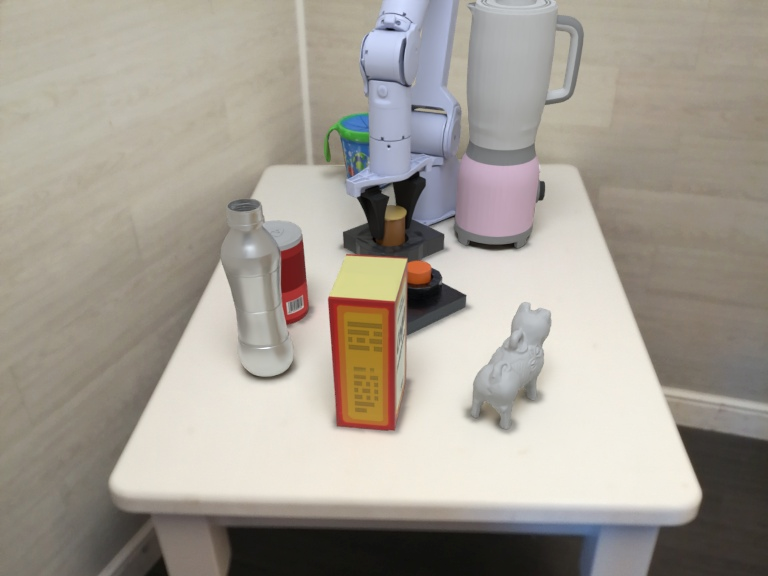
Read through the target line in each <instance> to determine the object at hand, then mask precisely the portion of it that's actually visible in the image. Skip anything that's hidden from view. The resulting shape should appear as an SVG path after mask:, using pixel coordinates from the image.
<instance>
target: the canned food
mask: <svg viewBox="0 0 768 576" xmlns="http://www.w3.org/2000/svg"><path fill="white" fill-rule="evenodd" d="M263 227H264V228H265V229H266V230H267V231H268V232H269V233H270V234H271V235H272V237H273V238H274V239H275V240H276V242H277V244H278V246H279V249H280V251H281V295H282V297H281V298H282V307H283V311H284V316H285V320H286V325H287V326H288V325H291V324H294V323H297V322H299V321H301V320H302V319H303V318H304V317H306V315H307V314H308V310H309V306H310V305H309V304H310V303H309V302H310V301H309V293H308V292H309V291H308V281H307V270H306V258H305V257H306V256H305V246H304V245H305V244H304V238H303V237H304V235H303V230H302V229H301V228H302V227H300V226H299V225H297V224H296V223H295V222H294V223H293V222H290V221H287V220H267V221H265V222H264V224H263Z"/></svg>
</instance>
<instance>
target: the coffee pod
mask: <svg viewBox="0 0 768 576" xmlns="http://www.w3.org/2000/svg"><path fill="white" fill-rule="evenodd" d="M406 214H407V211H406V209H405V208H403V207H401V206H397V205H396V204H387V207H386V212H385V226H384V237H383V239H381V240H378V239H376V243H377V244H378V245H383V246H398V245H402V244H404V242H405V216H406Z"/></svg>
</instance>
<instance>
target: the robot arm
mask: <svg viewBox="0 0 768 576" xmlns="http://www.w3.org/2000/svg"><path fill="white" fill-rule="evenodd" d="M459 5H460V0H382V1H381V4H380V8H379V11H378V15H377V19H376V21H375V25H374V28H373V29H371V31H369V33H366V34H365V35H364V36H363V38H362V41H361V45H360V50H359V60H358V63H359V64H358V65H359V71H360V72H359V73H360V76H361V79H362V81H363V93H364V96H365V97H366V98H367V99H368V100H367V102H368V103H367V104H368V105H367V106H368V107H367V108H368V113H369V149H370V161H369V162H368V167H367V168H366V169H364V170H363V171H361V172H360V173H358V174H357V175H355V176H353V177H351V178H349V179H348V178H346V179H345V191H346V194H347V195H349V196H350V197H353V198H356V199H357V201H358V203H359V204H360V206H361V209H362V211H363V214H364V216H365V219H366V221H367V222H366V223H368V225H369V229H370V233H371V236H372V237H374V238H376V239H378V240H381V239H383V237H384V226H385V212H386V207H387V205H389V204H388V203H389V201H390V196H389V195H387V194H385V193H383V191H382V189H381V188H380V186H383V185H385V186H387V185H388V184H391V185H392V188H393V193H394V200H395V205H397V206H401V207H403V208H405V209H406V211H407V214H406V216H405V229H406V230H407V229H409V227H410V224H411V220H412V219H413V220H415V221H417V222H419V223H422V224H424V225H426V226H428V227H430V226H431V225H434V224H436V223H439V222H441V221H444V220H446V219H449V218H451V217H453V216H454V217H455V216H456V198H457V182H458V171H459V166H460V162H461V161H460V160H459V158H458V157H457V155H456V154H457V152H458V150H459V146H460V142H461V136H462V114H463V113H462V112H463V111H462V106H461V104H460V102H459V101H458V99H457V98H456V97H455V96H454V95H453V94H452V93H451V92H450V90H449V89H448V82H449V75H450V68H451V61H452V55H453V47H454V41H455V33H456V26H457V20H458V11H459ZM413 83H414V85H413ZM418 109H421V110H418ZM422 109H423V110H422ZM426 110H432V111H426ZM433 111H441V112H443V113H441V112H433ZM444 112H445V113H444ZM386 184H387V185H386Z"/></svg>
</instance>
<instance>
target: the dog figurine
mask: <svg viewBox="0 0 768 576" xmlns="http://www.w3.org/2000/svg"><path fill="white" fill-rule="evenodd" d="M531 305H532V304H531V302H528V301H523V302H521V303H520V304H519V306H518V307H517V310H516V312H515V314H514V316H513V318H512V320H511V325H510V335H509V336H508V337H507V338H505V340H503V342H502V344H501V346H498V348H497V349H496V350H495V352H493V354H492V355H491V358H490V360H489V361H488V363H487V364H485V365H484V366H482V368H480V369H479V371H478V372H477V374H476V375H475V377H474V379H473V382H472V398H471V412H470V417H472V418H474V419H478V418H479V417H480V414H481V409H482V407H483V405H484V403H485V402H487V404H489V405H490V406H491V407H492V408H493V409H494V410H495V411H496V412H497V413H498V414H499V415H500V421H499V423H498V425H499V427H500V428H501V429H503V430H509V429H510V428H511V427H512V422H511V421H512V419H511V417H512V411H513V406H514V402H515V400H516V398H517V396H518V393H519V392H520V390H521V389H522V388H524V391H525V397H526V398H527V399H529V400H532V401H535V400H536V399H537V398H538V392H537V381H538V378H539V375H540V374H541V372H542V370H543V367H544V364H545V353H544V351H545V350H544V348H543V345H544V342H545V341H546V339H548V336H549V335H550V332H551V327H552V312H551V310H549V309H546V308H544V307H538V308H537V309H532V308H531Z"/></svg>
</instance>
